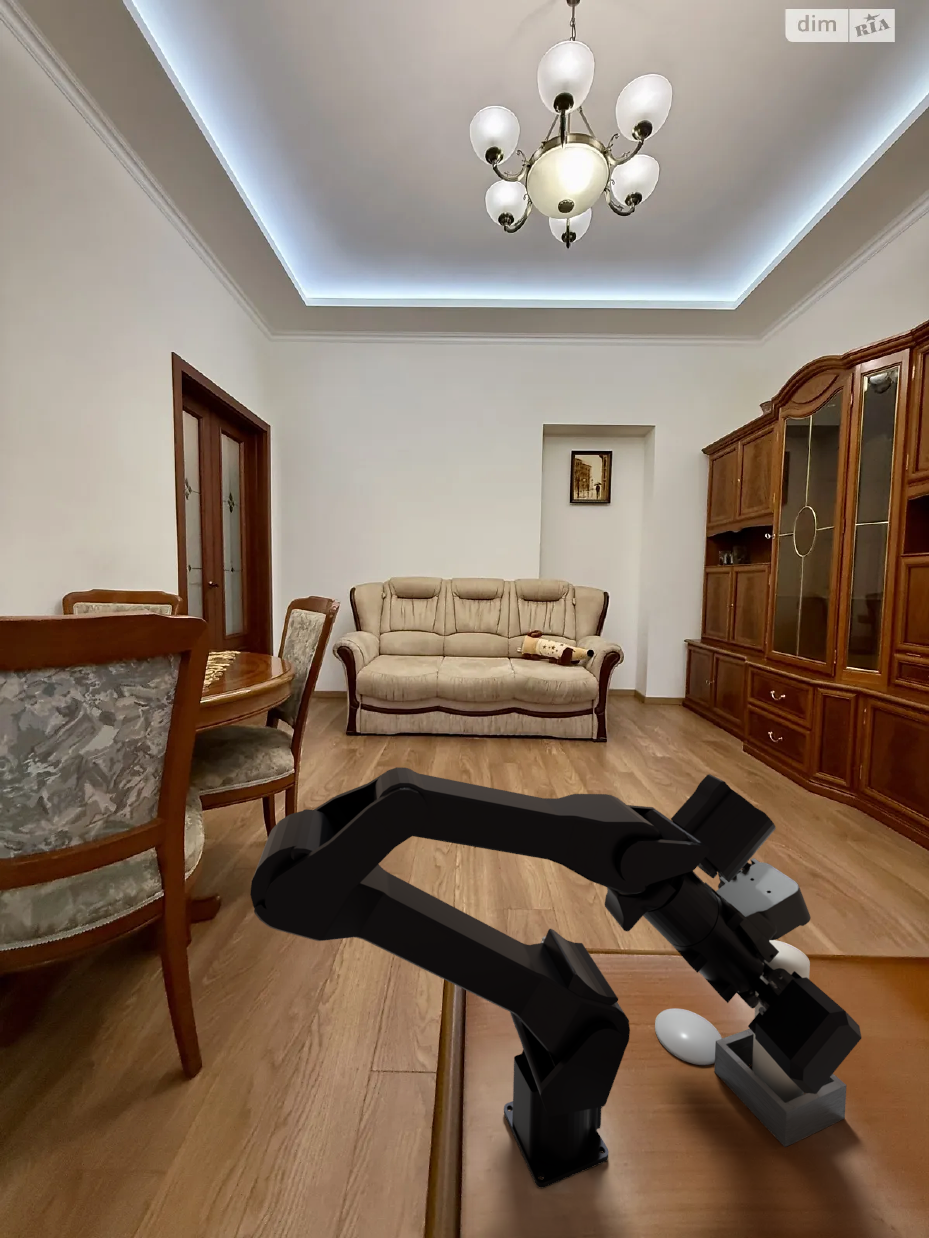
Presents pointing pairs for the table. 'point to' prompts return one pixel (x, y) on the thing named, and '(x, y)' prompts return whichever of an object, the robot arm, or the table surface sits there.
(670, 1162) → the table surface
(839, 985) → the table surface
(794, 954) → the cream peg
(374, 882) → the robot arm
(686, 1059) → the white oval disc
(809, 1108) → the frame
